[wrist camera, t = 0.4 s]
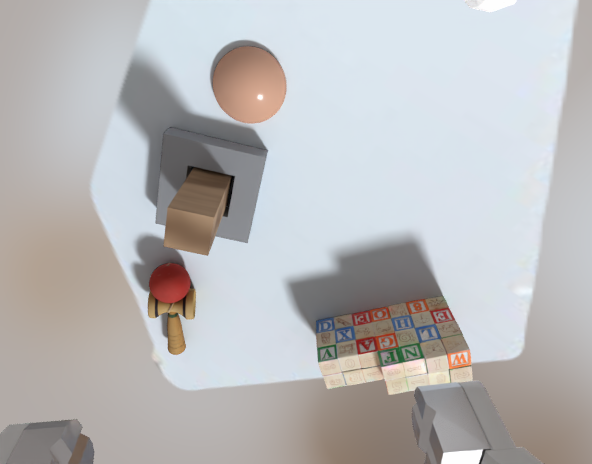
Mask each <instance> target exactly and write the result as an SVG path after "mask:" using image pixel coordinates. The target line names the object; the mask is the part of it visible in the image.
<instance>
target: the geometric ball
mask: <svg viewBox="0 0 592 464" xmlns="http://www.w3.org/2000/svg"><path fill="white" fill-rule="evenodd" d="M464 1H465V2H466V3H467V5H468V6H469V7H470V8H473V9H478V10H482V11H487V12H493V11H496V10H498V9H501V8H504V7H507V6H510V5H512V4H514V3H515V2H516V1H517V0H464Z"/></svg>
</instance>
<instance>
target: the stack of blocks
mask: <svg viewBox="0 0 592 464" xmlns="http://www.w3.org/2000/svg"><path fill="white" fill-rule="evenodd" d="M316 333H317V334H316V339H317V353H318V364H319V367H320V369H321V372H322V375H323V377H324V380H325V383H326V386H327V389H331V388H336V387H341V386H345V385H347V386H348V385H354V384H360V383H364V382H371V381H375V380H381V379H384V380H385V382H386V386H387V390H388V394H389V395H391V394H397V393H402V392H408V391H413V390H415V389H416V388H417V387H418V386H427V385H436V384H444V383H453V382H457V383H459V382H466V381H471V380H472V367H471V356H470V349H469V347H468V345H467V343H466V341H465V339H464V337H463V334H462V332H461V330H460V328H459V326H458V324H457V322H456V321H455V319H454V317H453V315H452V313H451V311H450V309H449V307H448V305H447V302H446V300H445V298H444V297H443V296H440V297H434V298H429V299H422V300H416V301H411V302H406V303H400V304H395V305H390V306H388V307H383V308H378V309H373V310H370V311H365V312H359V313H354V314H348V315H343V316H337V317H334V318H327V319H323V320H318V321H316Z"/></svg>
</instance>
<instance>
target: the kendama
mask: <svg viewBox="0 0 592 464" xmlns="http://www.w3.org/2000/svg"><path fill="white" fill-rule="evenodd" d="M149 287H150V293H149V298H148V316H149V318H157V317H158V316H159V315H161V314H163V313H165V312H167V313H168V322H167V331H168V351H169V352H170V353H171V354H174V355H177V354H180V353H182V352H183V351H184V350H185V348H186V344H185V341H184V336H183V331H182V325H181V321H180V318H179V315H178V313H179V314H181V315H182V316H184V317H185V318H186V319H194V317H195V305H196V291H195V289H190V277H189V274H188V272H187V271H186V270H185V268H183V267H182V266H180V265H178V264H174V263H167V264H163V265H161V266H159V267H157V268H156V269H155V270H154V271H153V273H152V275H151V277H150V281H149Z"/></svg>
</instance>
